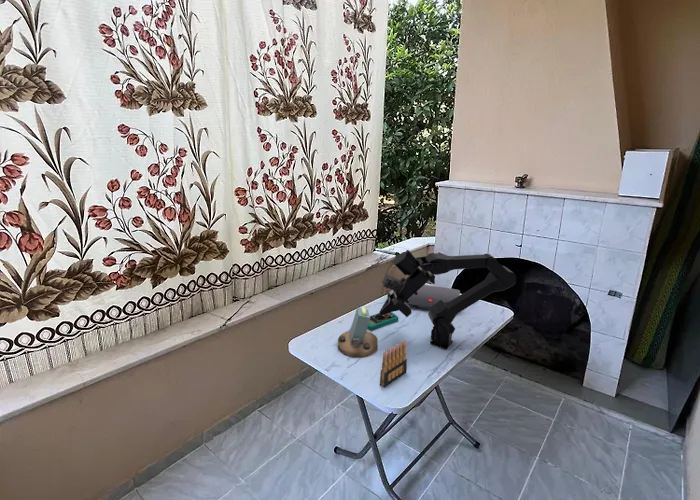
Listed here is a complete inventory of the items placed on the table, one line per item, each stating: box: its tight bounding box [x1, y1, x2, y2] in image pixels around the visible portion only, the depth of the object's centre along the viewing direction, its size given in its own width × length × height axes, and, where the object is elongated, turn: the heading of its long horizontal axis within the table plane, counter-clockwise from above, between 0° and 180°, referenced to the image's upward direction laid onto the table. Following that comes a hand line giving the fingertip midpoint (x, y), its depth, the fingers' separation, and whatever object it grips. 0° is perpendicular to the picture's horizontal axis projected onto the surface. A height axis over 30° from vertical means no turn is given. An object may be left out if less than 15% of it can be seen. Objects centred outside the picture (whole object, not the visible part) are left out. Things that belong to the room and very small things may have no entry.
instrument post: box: [349, 306, 371, 343], centre depth 131 cm, size 4×6×11 cm, turn 5°
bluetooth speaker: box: [407, 284, 461, 310], centre depth 161 cm, size 23×9×10 cm, turn 73°
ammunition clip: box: [379, 339, 408, 389], centre depth 115 cm, size 11×2×12 cm, turn 134°
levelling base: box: [337, 330, 379, 359], centre depth 133 cm, size 14×14×6 cm
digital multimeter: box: [367, 312, 399, 332], centre depth 150 cm, size 7×15×3 cm, turn 125°
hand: (380, 313), depth 131 cm, fingers closed
